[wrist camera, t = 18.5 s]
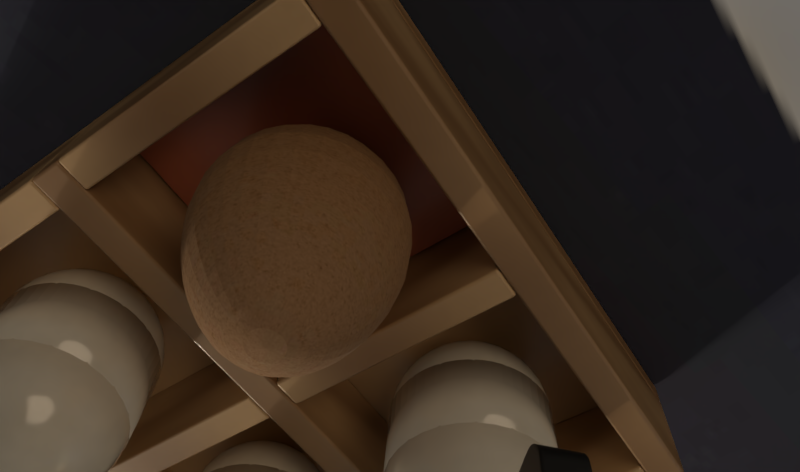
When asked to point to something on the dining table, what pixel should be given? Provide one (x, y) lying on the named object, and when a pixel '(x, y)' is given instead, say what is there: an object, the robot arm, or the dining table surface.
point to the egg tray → (428, 264)
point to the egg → (294, 249)
